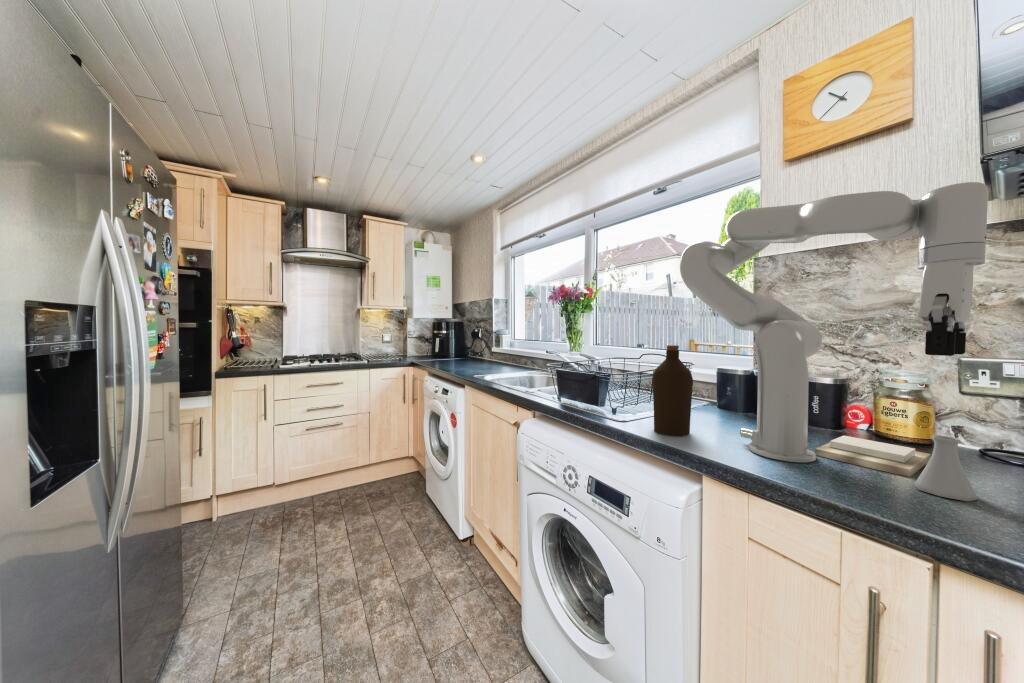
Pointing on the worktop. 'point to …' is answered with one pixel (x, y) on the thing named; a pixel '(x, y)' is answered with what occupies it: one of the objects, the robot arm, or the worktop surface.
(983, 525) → the worktop surface
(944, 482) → the flask
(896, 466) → the board
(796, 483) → the worktop surface
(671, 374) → the olive oil
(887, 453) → the tile
